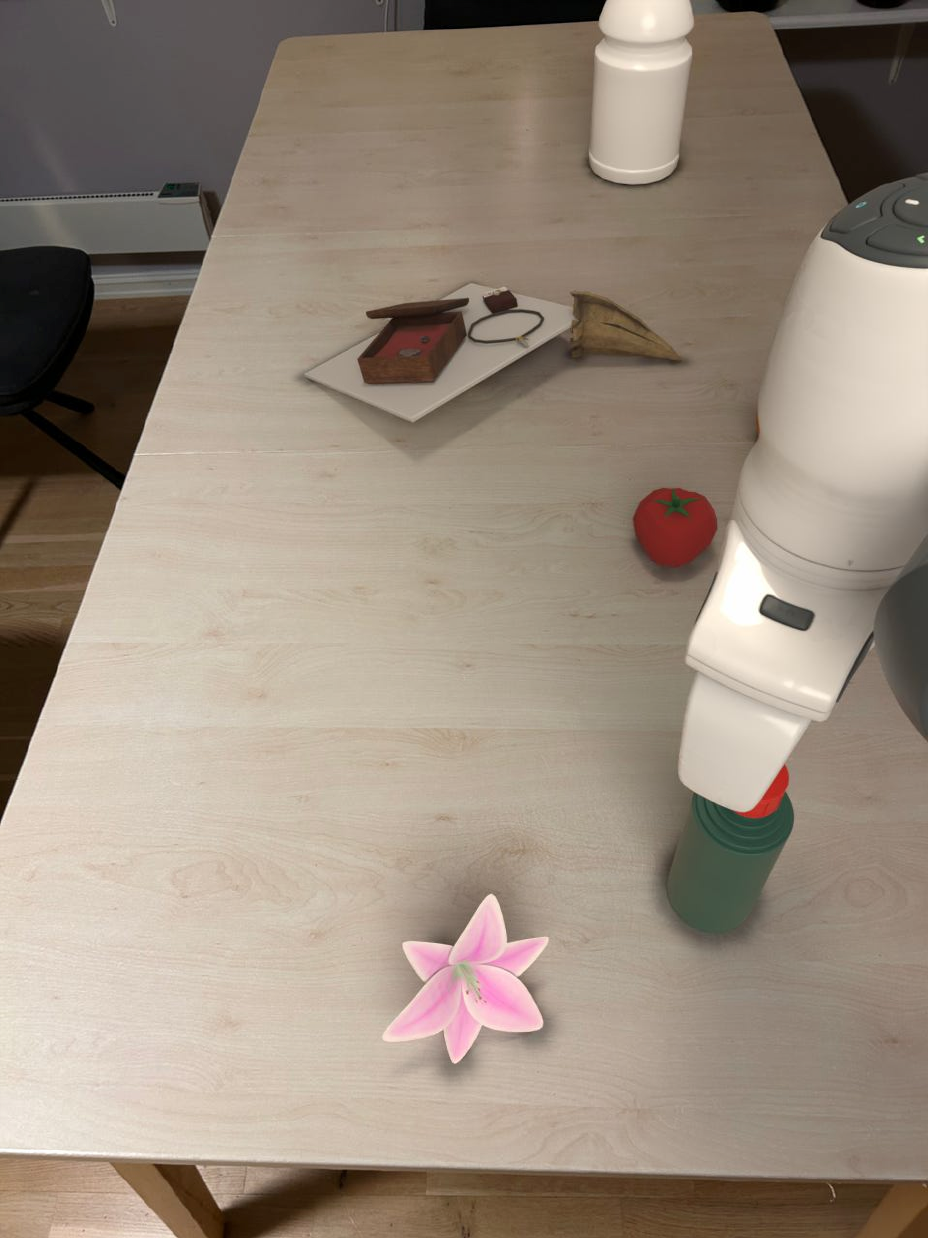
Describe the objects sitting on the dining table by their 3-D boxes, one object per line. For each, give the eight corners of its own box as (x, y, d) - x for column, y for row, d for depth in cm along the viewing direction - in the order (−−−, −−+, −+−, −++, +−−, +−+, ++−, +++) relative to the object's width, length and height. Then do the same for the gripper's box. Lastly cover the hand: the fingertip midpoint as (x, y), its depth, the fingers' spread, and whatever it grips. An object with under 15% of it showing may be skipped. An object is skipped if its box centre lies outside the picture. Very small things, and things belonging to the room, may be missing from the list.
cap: (709, 800, 60) (715, 782, 58) (733, 755, 62) (739, 736, 60) (767, 829, 58) (775, 811, 56) (789, 782, 60) (798, 763, 58)
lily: (365, 1054, 68) (390, 1084, 59) (377, 886, 71) (402, 889, 62) (522, 1055, 70) (569, 1083, 61) (527, 893, 74) (572, 897, 65)
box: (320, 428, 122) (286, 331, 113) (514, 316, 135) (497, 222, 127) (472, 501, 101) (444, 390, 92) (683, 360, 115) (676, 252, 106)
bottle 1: (578, 180, 144) (588, -32, 122) (598, 139, 152) (612, -66, 130) (669, 190, 141) (696, -25, 119) (685, 148, 149) (714, -61, 127)
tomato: (666, 589, 92) (675, 538, 87) (614, 541, 96) (620, 490, 91) (726, 553, 95) (739, 502, 89) (673, 508, 99) (682, 457, 93)
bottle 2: (765, 877, 73) (824, 761, 59) (733, 950, 70) (787, 844, 56) (687, 838, 76) (726, 716, 62) (652, 905, 72) (685, 794, 58)
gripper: (833, 394, 49) (778, 570, 60) (669, 669, 39) (638, 822, 49) (958, 432, 47) (878, 608, 57) (819, 735, 36) (753, 880, 47)
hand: (766, 709), depth 53 cm, fingers open, 8 cm apart
